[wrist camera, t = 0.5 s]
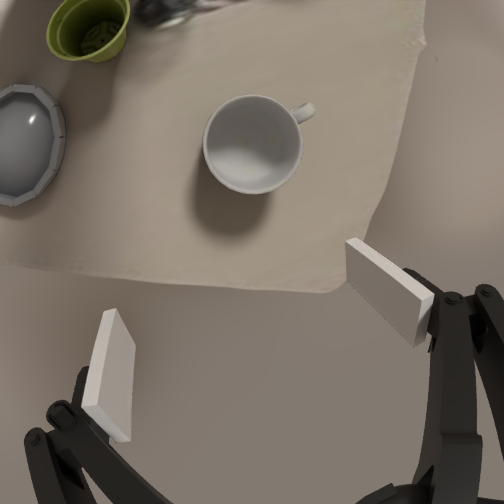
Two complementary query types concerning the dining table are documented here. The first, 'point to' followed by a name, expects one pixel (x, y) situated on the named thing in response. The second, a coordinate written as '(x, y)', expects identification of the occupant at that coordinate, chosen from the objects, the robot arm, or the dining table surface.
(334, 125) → the dining table surface
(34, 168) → the saucer
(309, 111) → the teacup
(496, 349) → the robot arm
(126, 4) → the plant pot
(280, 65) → the dining table surface
